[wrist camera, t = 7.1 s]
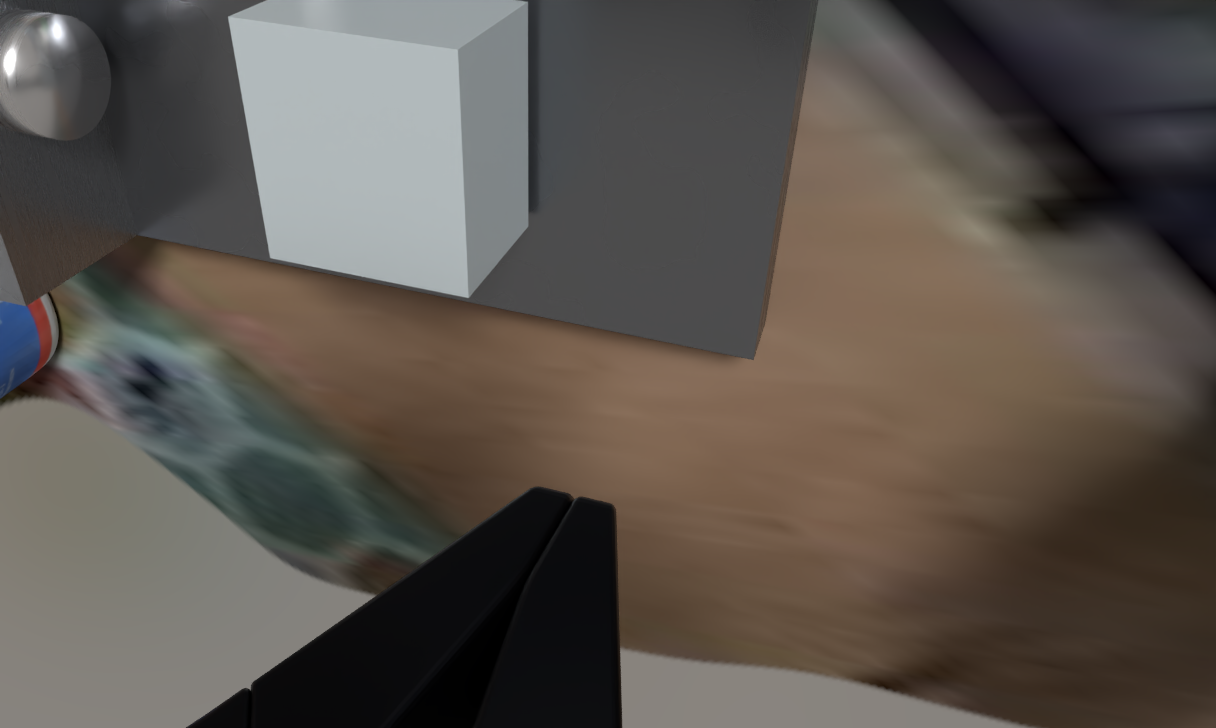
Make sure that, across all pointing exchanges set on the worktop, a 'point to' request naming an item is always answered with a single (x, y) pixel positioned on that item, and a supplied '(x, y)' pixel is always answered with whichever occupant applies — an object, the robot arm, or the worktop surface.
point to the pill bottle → (25, 340)
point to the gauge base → (557, 154)
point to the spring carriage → (389, 134)
